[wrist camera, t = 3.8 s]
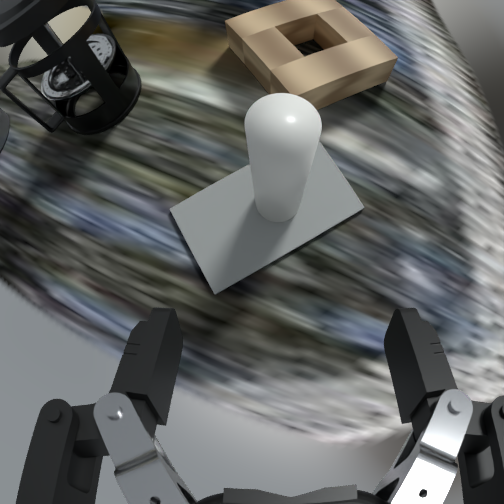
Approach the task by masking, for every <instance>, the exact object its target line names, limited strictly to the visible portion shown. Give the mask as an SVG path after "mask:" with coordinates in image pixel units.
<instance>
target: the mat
mask: <svg viewBox="0 0 504 504" xmlns="http://www.w3.org/2000/svg"><path fill="white" fill-rule="evenodd" d="M362 209H364V206H363V204H362V203H361V201H360V200H359V198H358V197H357V195H356V194H355V192H354V191H353V189H352V188H351V186H350V185H349V183H348V182H347V180H346V179H345V177H344V176H343V174H342V173H341V171H340V170H339V168H338V167H337V165H336V164H335V163H334V161H333V160H332V158H331V157H330V155H329V154H328V153H327V151H326V150H325V148H324V147H323V146H322V144H321V143H320V141H319V142H318V145H317V149H316V152H315V156H314V159H313V162H312V166H311V169H310V173H309V176H308V180H307V183H306V186H305V190H304V193H303V197H302V200H301V203H300V207H299V209H298V212H297V213H296V214H295V216H294V217H292V218H291V219H290V220H287V221H285V222H271V221H269V220H267V219H265V218H264V217H262V216H261V214H260V213H259V212H258V210H257V207H256V203H255V196H254V188H253V181H252V174H251V167H250V164H249V165H247V166H245V167H243V168H241V169H239V170H238V171H236V172H234V173H232V174H230V175H228V176H227V177H225V178H223V179H221V180H219V181H218V182H216V183H214V184H212V185H210V186H209V187H207V188H205V189H203V190H202V191H200V192H198V193H196V194H195V195H193V196H191V197H189V198H188V199H186V200H184V201H183V202H181V203H179V204H178V205H176V206H174V207H172V208H171V209H170V211H171V213H172V215H173V217H174V219H175V220H176V222H177V224H178V226H179V228H180V230H181V232H182V234H183V236H184V238H185V240H186V242H187V244H188V246H189V247H190V249H191V251H192V253H193V255H194V257H195V259H196V261H197V263H198V264H199V266H200V268H201V270H202V272H203V274H204V276H205V277H206V279H207V281H208V283H209V285H210V287H211V288H212V290H213V292H214V294H217V293H219V292H221V291H222V290H224V289H226V288H228V287H229V286H231V285H233V284H235V283H236V282H238V281H240V280H242V279H243V278H245V277H247V276H249V275H250V274H252V273H254V272H256V271H257V270H259V269H261V268H263V267H264V266H266V265H268V264H270V263H271V262H273V261H275V260H277V259H278V258H280V257H282V256H284V255H285V254H287V253H289V252H290V251H292V250H294V249H296V248H297V247H299V246H301V245H303V244H304V243H306V242H308V241H309V240H311V239H313V238H315V237H316V236H318V235H320V234H321V233H323V232H325V231H327V230H328V229H330V228H332V227H333V226H335V225H337V224H338V223H340V222H342V221H344V220H345V219H347V218H349V217H350V216H352V215H354V214H355V213H357V212H359V211H360V210H362Z"/></svg>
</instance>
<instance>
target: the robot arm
mask: <svg viewBox="0 0 504 504" xmlns="http://www.w3.org/2000/svg"><path fill="white" fill-rule="evenodd" d="M9 126H10V120H9V116H8V115H7V113H5V112H4V111H3V110H2V109H1V108H0V151H1V149H2V147H3V145H4V143H5V140H6V138H7V135H8V131H9ZM182 348H183V337H182V333H181V329H180V325H179V322H178V318H177V315H176V311H175V309H174V308H153V309H152V312H151V314H150V317H149V320H148V321H140V322H139V323H138V324H137V325H136V326H135V327H134V329H133V330H132V331H131V333H130V336H129V339H128V341H127V345H126V347H125V350H124V355H122V358H121V361H120V364H119V367H118V370H117V373H116V375H115V378H114V381H113V384H112V387H111V390H110V392H109V393H108V394H106V395H104V396H103V397H101V398H100V399H99V400H98V401H97V403H94V404H90V405H81V406H72V407H71V406H70V405H69V404H68V403H67V402H66V401H64V400H62V399H53V400H50V401H48V402H47V403H46V404H45V405H44V406H43V407H42V409H41V411H40V413H39V417H38V419H37V423H36V426H35V429H34V432H33V436H32V439H31V443H30V446H29V450H28V454H27V457H26V461H25V465H24V469H23V473H22V477H21V481H20V486H19V491H18V495H17V500H16V504H95V499H96V492H97V487H98V481H99V475H100V469H101V463H102V459H103V456H108V455H110V457H111V459H112V461H113V463H114V465H115V468H116V470H115V471H114V474H115V478H116V480H117V482H118V484H119V486H120V488H121V490H122V492H123V494H124V496H125V498H126V500H127V502H128V504H442V503H443V501H444V498H445V496H446V494H447V492H448V490H449V488H450V486H451V484H452V482H453V479H454V477H455V475H456V472H457V468H458V465H457V464H456V463H455V459H456V456H457V455H458V461H459V468H460V475H461V483H462V491H463V500H464V504H504V396H500V397H498V398H496V399H495V400H494V401H493V402H492V403H485V402H477V401H472V400H471V399H470V398H469V396H468V395H467V394H466V393H464V392H463V391H461V390H458V388H457V386H456V383H455V380H454V377H453V375H452V372H451V369H450V366H449V363H448V361H447V358H446V355H445V354H444V350H443V347H442V345H441V344H440V340H439V337H438V335H437V332H436V330H435V329H434V328H433V327H432V326H431V325H430V324H429V322H428V321H421V318H420V316H419V313H418V311H417V309H416V308H402V309H396V310H395V311H394V313H393V316H392V319H391V321H390V324H389V326H388V329H387V331H386V334H385V338H384V349H385V354H386V358H387V361H388V365H389V369H390V373H391V377H392V382H393V386H394V390H395V394H396V399H397V403H398V408H399V413H400V417H401V422H402V424H404V423H410V422H412V427H413V429H412V430H411V432H410V434H409V436H408V438H407V440H406V442H405V443H404V445H403V447H402V449H401V451H400V453H399V454H398V456H397V458H396V460H395V461H394V463H393V465H392V467H391V468H390V470H389V471H388V473H387V474H386V475H385V477H384V478H383V479H382V480H381V481H380V483H379V484H378V486H377V487H376V489H375V490H374V492H373V493H372V494H371V493H368V492H365V491H360V490H357V486H356V485H348V486H340V487H329V488H323V489H320V490H316V491H313V492H309V493H306V494H302V495H299V496H295V497H287V496H282V495H278V494H273V493H269V492H265V491H261V490H255V489H233V488H224V493H220V494H216V495H212V496H209V497H206V498H204V499H202V500H200V501H198V502H197V500H196V499H195V497H194V496H193V494H192V493H191V491H190V490H189V488H188V487H187V486H186V484H185V483H184V481H183V480H182V479H181V478H180V476H179V475H178V473H177V472H176V470H175V468H174V467H173V466H172V463H171V462H170V460H169V459H168V457H167V455H166V453H165V452H164V450H163V448H162V447H161V445H160V443H159V441H158V440H157V438H156V436H155V430H156V425H157V424H159V425H166V423H167V418H168V413H169V408H170V403H171V398H172V394H173V389H174V385H175V380H176V376H177V371H178V366H179V362H180V358H181V353H182Z"/></svg>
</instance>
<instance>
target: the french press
mask: <svg viewBox="0 0 504 504" xmlns="http://www.w3.org/2000/svg"><path fill="white" fill-rule="evenodd" d="M85 5H87V6H88V7H89V9H90V11H91V14H90V16H89V18H88V19H87V21H86V22H85V23H84V25H83V26H82V27H81V28H80V29H79V30H78V31H77V32H76V33H75V35H73V36H72V37H71V38H70V39H69V40H68V41H67V42H66V43H65V44H63V43H62V42H61V40H60V39H59V38H58V36H57V35H56V34H55V32H54V31H53V30H52V28H51V27H50V26H49V24H48V23H47V22H48V21H50V20H51V19H53V18H54V17H55V16H57V15H59V14H61V13H62V12H65V11H67V10H69V9H72V8H74V7H78V6H85ZM98 24H99V26H100V28H101V29H102V31H103V33H104V34H93V35H92V33H93V32H94V30H95V29H96V27H97V26H98ZM31 37H33V38H34V39H35V40H36V41H37V43H38V44H39V45H40V46H41V47H42V49H43V50H44V51H45V52H46V53H47V55H48V56H47V57H45V58H44V59H42V60H40V61H38V62H37V63H34V64H32V65H30V66H27V67H23V68H18V67H17V66H18V60H19V56H20V54H21V52H22V50H23V48H24V47H25V45H26V44H27V42H28V41H29V40H30V39H31ZM13 43H14V45H13V47H12V49H11V52H10V54H9V65H10V67H9V68H8V70H7V71H6V72H5V73H4V74H3V75H2V77H1V78H0V89H1V91H2V92H3V93H5V94H6V95H7V96H8V97H9V98H10V99H11V100H13V101H14V102H15V103H16V104H17V105H18V106H20V107H21V108H22V109H23V110H24V111H25V112H27V113H28V114H29V115H30V116H31V117H32V118H34V119H35V120H36V121H37V122H38V123H40V124H41V125H42V126H43V127H44V128H45V129H47V130H48V131H49V132H51V133H52V132H54V131H55V130H56V129H57V127H58V126H59V125H60V124H61V123H62V122H63V120H65V121H67V124H68V126H69V127H70V128H71V129H72V130H73V131H75V132H76V133H79V134H83V135H92V134H97V133H100V132H103V131H105V130H107V129H109V128H111V127H113V126H114V125H116V124H117V123H118V122H120V121H121V120H122V119H123V118H124V117H125V116H126V115H127V114H128V113H129V112H130V111H131V110H132V108H133V107H134V105H135V104H136V102H137V100H138V98H139V95H140V92H141V79H140V75H139V74H138V72H137V71H136V70H135V69H134V68H133V67H132V66H131V64H130V62H129V60H128V59H127V57H126V56H125V54H124V52H123V51H122V49H121V47H120V45H119V44H118V42H117V40H116V38H115V36H114V35H113V33H112V31H111V29H110V28H109V26H108V24H107V22H106V20H105V19H104V17H103V15H102V13H101V11H100V8H99V6H98V5H97V3H96V1H95V0H0V47H6V46H8V45H11V44H13ZM43 73H44V75H43V78H42V82H41V90H42V93H41V92H40V91H39V90H38V89H37V88H36V87H35V86H34V85H33V84H32V83H31V82H30V81H29V80H28V79H27V78H30V77H35V76H38V75H40V74H43ZM108 73H120V74H123V75H124V76H125V78H124V81H123V83H122V84H121V86H120V87H119V89H118V88H117V86H116V85H115V83H114V82H113V80H112V79H111V77H110V76H109V74H108ZM16 74H18V75H19V76H20V77H21V78H22V79H23V80H24V81H25V82H26V83H27V84H28V85H29V86H30V87H31V88H32V89H33V90H34V91H35V92H36V93H37V94H38V95H39V96H41V97H42V98H43V99H44V100H45V101H46V102H47V103H48V104H49V105H50V106H51V107H52V108H53V109H54V110H55V111H56V112H55V113H54V114H53V116H52V117H51V118H50V119H49V120H48V121H47V122H46V123H45V122H44V121H43V120H41V119H40V118H39V117H38V116H37V115H36V114H35V113H33V112H32V111H31V110H30V109H29V108H28V107H27V106H25V105H24V104H23V103H22V102H21V101H20V100H19V99H18V98H16V97H15V96H14V95H13V94H12V93H11V92H10V91H9V90H7V89H6V86H7V85H8V84H9V83H10V81H11V80H12V79H13V78H14V77H15V76H16ZM92 87H94V88H95V90H96V91H97V92H98V94H99V95H100V96H101V97H102V99H103V100H104V101H105V103H104V104H102V105H101V106H100V107H98V108H97V109H95V110H93V111H91V112H89V113H86V114H84V115H80V116H76V114H75V104H76V101H77V99H78V97H79V95H81V94H83V93H84V92H86V91H88V90H89V89H91V88H92ZM47 98H48V99H50V100H52V101H54V105H53V104H52V103H51V102H50V101H49V100H48V99H47Z"/></svg>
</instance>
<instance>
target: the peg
mask: <svg viewBox="0 0 504 504" xmlns="http://www.w3.org/2000/svg"><path fill="white" fill-rule="evenodd" d="M321 130H322V123H321V118H320V115H319V113H318V112H317V110H316V109H315V107H314V106H313V105H312V104H311V103H309V102H308V101H307V100H305V99H303V98H302V97H299V96H297V95H293V94H288V93H275V94H270V95H267V96H264V97H262V98H260V99H259V100H257V101H256V102H255V103H254V104H253V105H252V106H251V107H250V108H249V110H248V112H247V114H246V117H245V132H246V139H247V146H248V153H249V160H250V167H251V174H252V181H253V188H254V196H255V203H256V207H257V210H258V212H259V213H260V214H261V216H262V217H264V218H265V219H267V220H269V221H271V222H285V221H287V220H290V219H291V218H292V217H294V216H295V214H296V213H297V212H298V209H299V207H300V203H301V200H302V197H303V193H304V190H305V186H306V183H307V180H308V176H309V173H310V169H311V166H312V162H313V159H314V156H315V152H316V149H317V145H318V142H319V138H320V134H321Z"/></svg>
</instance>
